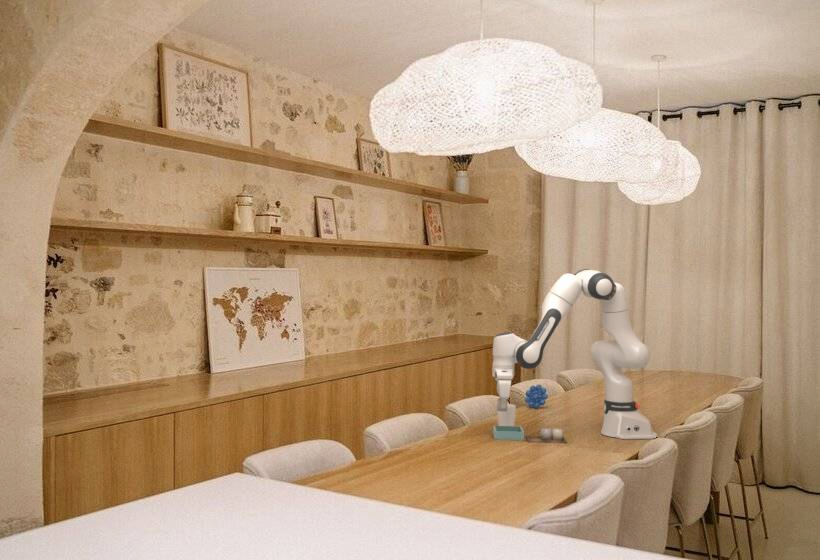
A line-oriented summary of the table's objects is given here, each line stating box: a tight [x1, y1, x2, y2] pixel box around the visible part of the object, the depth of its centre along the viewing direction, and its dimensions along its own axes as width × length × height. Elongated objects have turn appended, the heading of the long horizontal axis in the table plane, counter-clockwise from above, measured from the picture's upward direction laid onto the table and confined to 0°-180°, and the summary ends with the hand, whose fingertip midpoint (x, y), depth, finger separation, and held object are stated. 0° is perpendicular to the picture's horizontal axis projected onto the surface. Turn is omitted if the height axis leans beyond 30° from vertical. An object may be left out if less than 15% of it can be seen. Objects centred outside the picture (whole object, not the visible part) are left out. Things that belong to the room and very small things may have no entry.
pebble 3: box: [551, 427, 563, 441], centre depth 293 cm, size 4×4×4 cm
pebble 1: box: [496, 398, 508, 411], centre depth 299 cm, size 4×4×4 cm
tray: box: [525, 435, 568, 444], centre depth 293 cm, size 15×8×1 cm, turn 87°
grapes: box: [524, 383, 549, 409], centre depth 368 cm, size 12×7×12 cm, turn 64°
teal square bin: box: [492, 425, 525, 441], centre depth 299 cm, size 12×12×4 cm
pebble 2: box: [540, 427, 552, 441], centre depth 293 cm, size 4×4×4 cm
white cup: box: [496, 403, 517, 426], centre depth 317 cm, size 8×8×10 cm
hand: (502, 406), depth 299 cm, fingers closed on pebble 1, 4 cm apart
